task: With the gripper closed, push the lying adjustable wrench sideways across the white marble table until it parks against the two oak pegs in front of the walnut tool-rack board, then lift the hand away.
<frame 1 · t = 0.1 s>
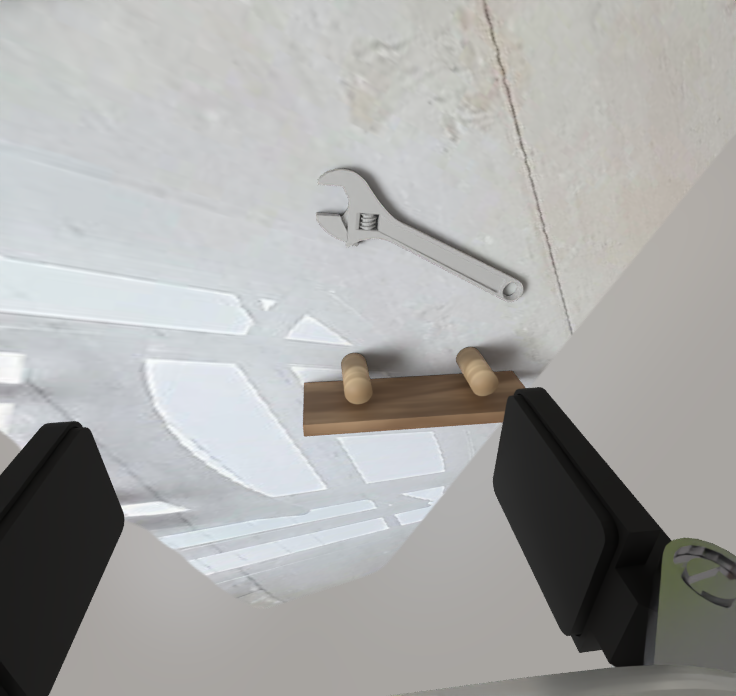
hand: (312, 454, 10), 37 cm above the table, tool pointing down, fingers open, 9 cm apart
tool rack: (410, 381, 54), on the table
adjustable wrench: (418, 248, 47), on the table
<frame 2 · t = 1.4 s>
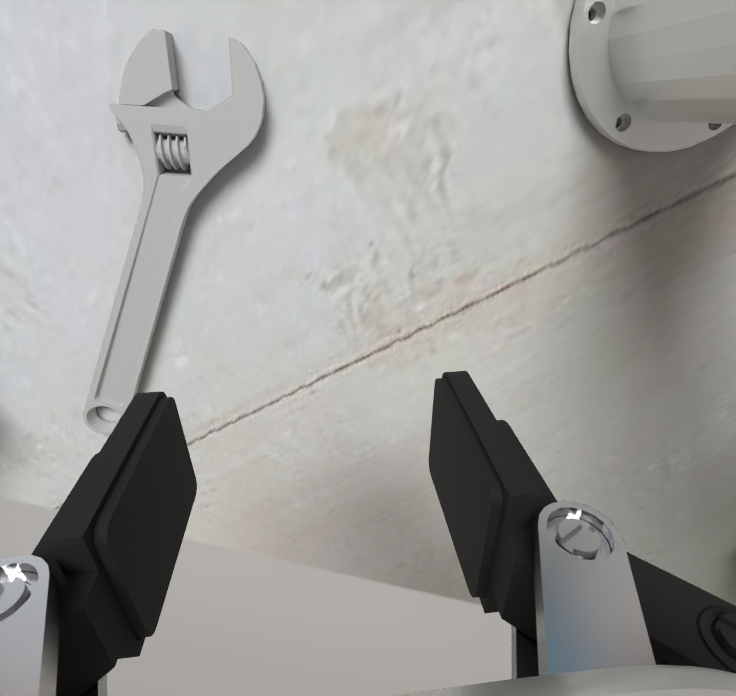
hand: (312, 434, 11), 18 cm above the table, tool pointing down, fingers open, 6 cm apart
adjustable wrench: (144, 253, 26), on the table
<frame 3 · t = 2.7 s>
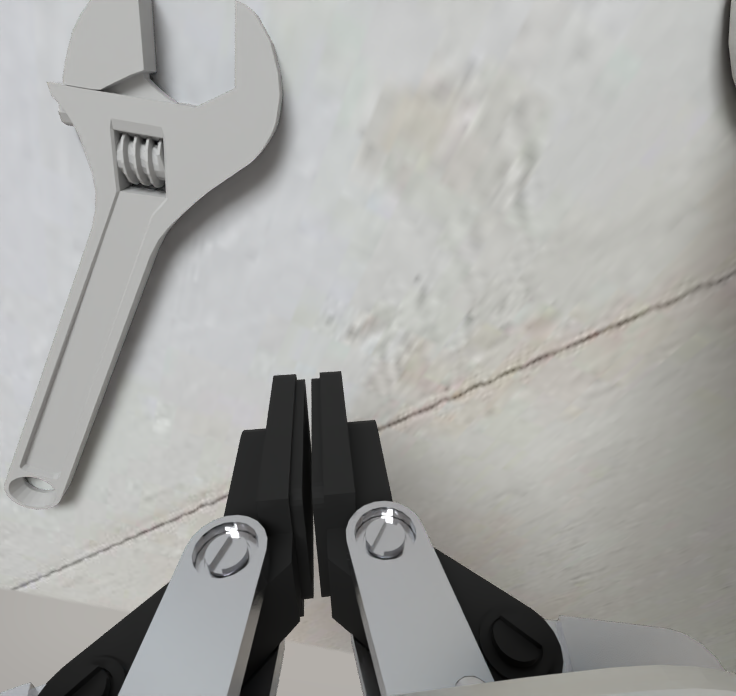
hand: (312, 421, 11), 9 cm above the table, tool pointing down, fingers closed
adjustable wrench: (97, 289, 19), on the table
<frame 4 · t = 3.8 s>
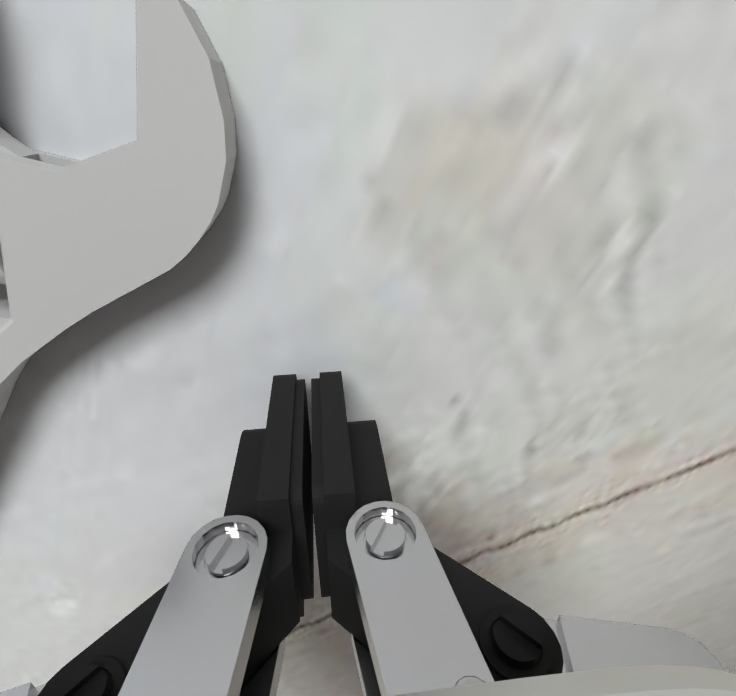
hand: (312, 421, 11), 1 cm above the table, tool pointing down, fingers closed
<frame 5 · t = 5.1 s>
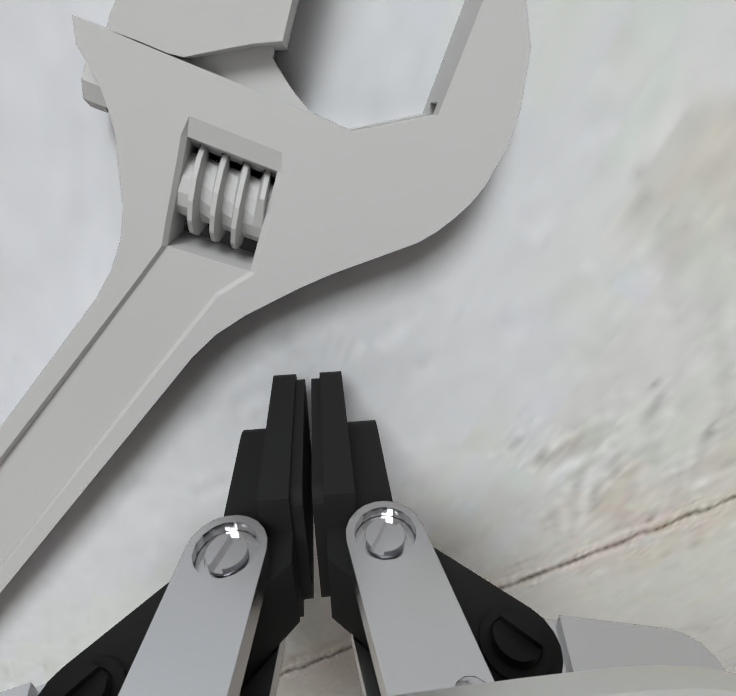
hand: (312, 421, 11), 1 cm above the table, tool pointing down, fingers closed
adjustable wrench: (73, 375, 11), on the table
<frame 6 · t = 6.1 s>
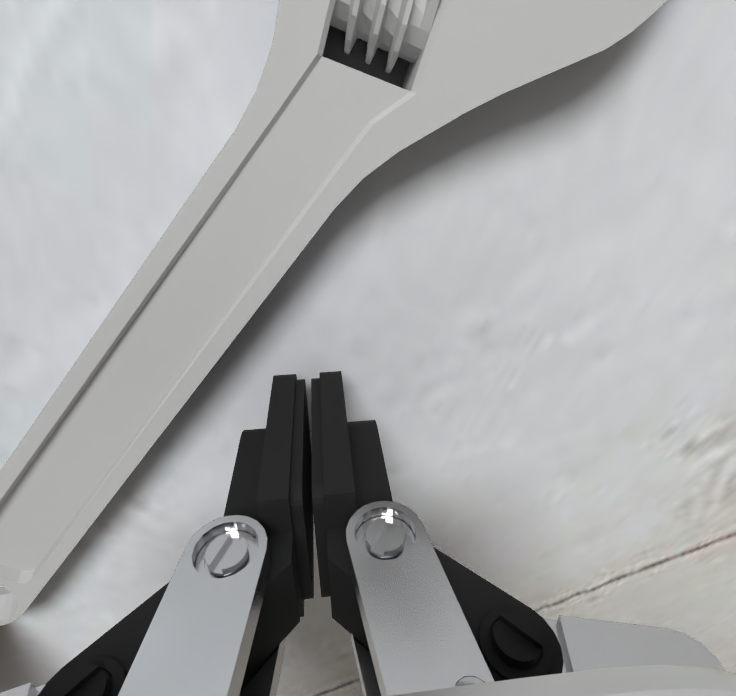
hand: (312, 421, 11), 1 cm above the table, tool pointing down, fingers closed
adjustable wrench: (180, 260, 10), on the table
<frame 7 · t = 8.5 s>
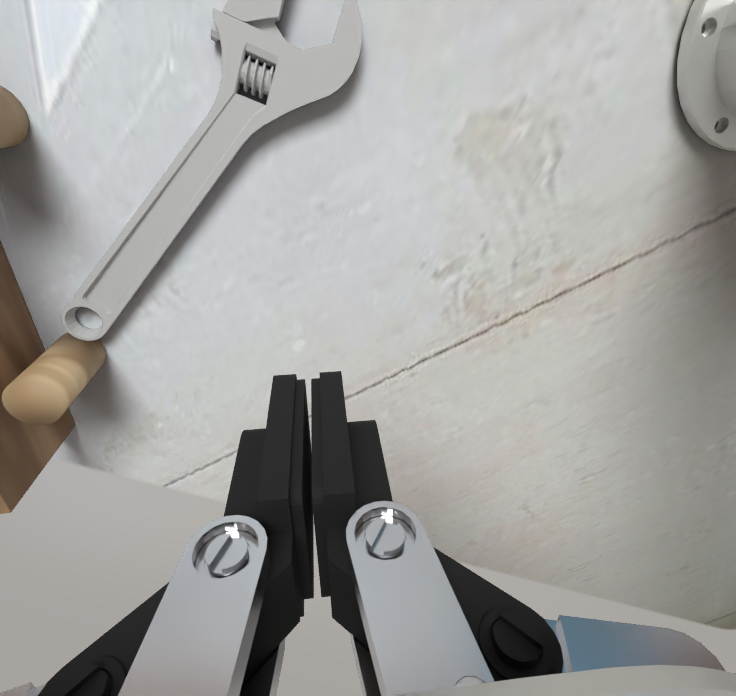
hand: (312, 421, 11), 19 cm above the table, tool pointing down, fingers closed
adjustable wrench: (185, 166, 25), on the table
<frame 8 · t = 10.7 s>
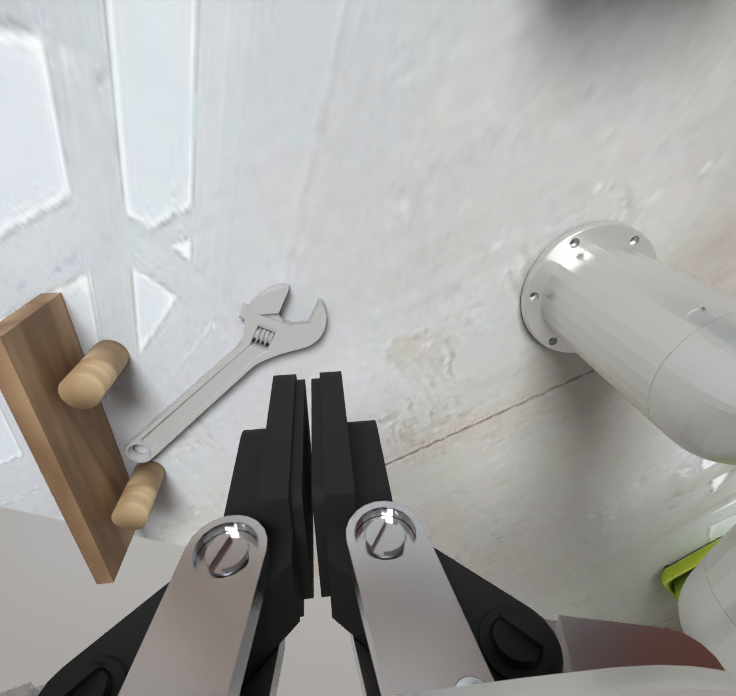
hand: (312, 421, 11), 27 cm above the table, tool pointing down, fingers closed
flower pot: (700, 564, 66), on the table
tool rack: (99, 420, 42), on the table
adjustable wrench: (214, 369, 41), on the table
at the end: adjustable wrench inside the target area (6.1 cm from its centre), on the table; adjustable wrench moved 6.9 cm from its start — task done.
